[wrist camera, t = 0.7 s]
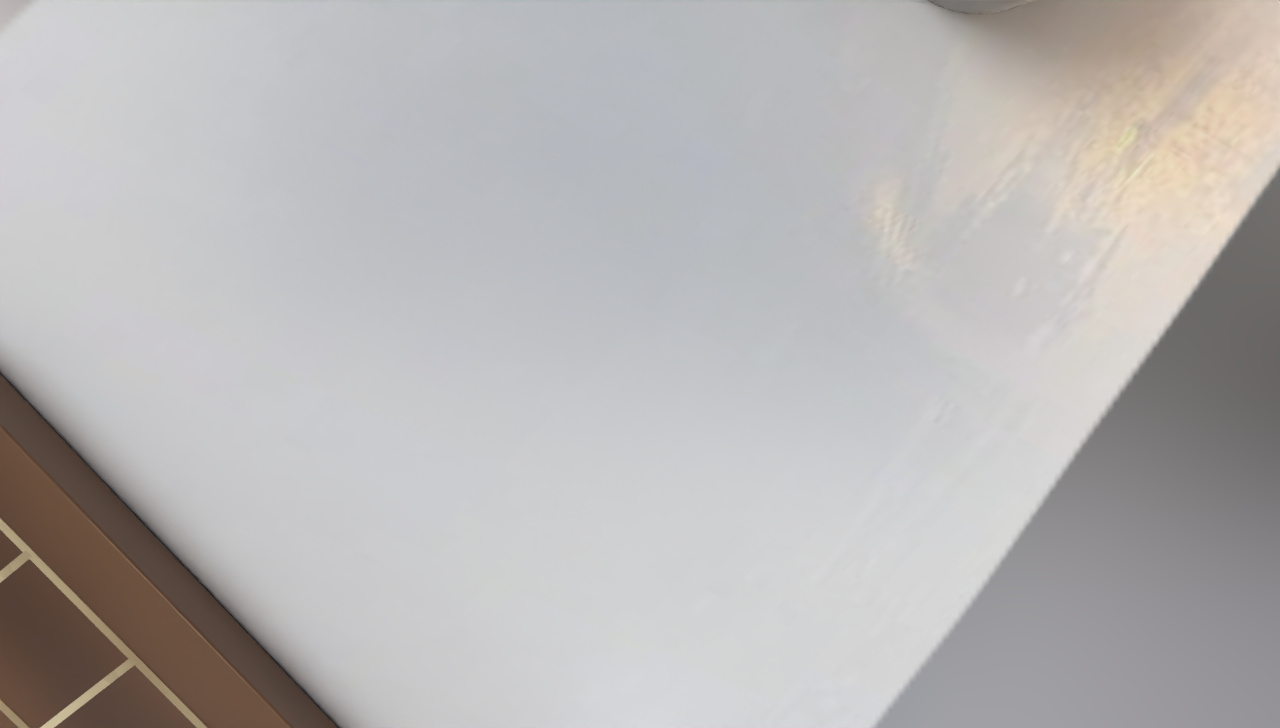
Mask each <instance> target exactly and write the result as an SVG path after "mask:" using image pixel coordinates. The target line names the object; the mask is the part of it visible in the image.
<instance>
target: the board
mask: <svg viewBox="0 0 1280 728" xmlns="http://www.w3.org/2000/svg"><path fill="white" fill-rule="evenodd" d="M0 728H338V727H337V726H336V725H335V724H334V723H333V722H332V721H331V720H330V719H329V718H328V717H327V716H326V715H325V714H324V713H323V712H322V711H321V710H320V708H319V707H318V706H317V705H316V704H315V703H314V702H313V701H312V700H311V699H310V698H309V697H308V696H307V695H306V694H305V693H304V692H303V691H302V690H301V689H300V688H299V686H298V685H297V684H296V683H295V682H294V681H293V680H292V679H291V678H290V677H289V676H288V675H287V674H286V673H285V672H284V671H283V670H282V669H281V668H280V667H279V666H278V664H277V663H276V662H275V661H274V660H273V659H272V658H271V657H270V656H269V655H268V654H267V653H266V652H265V651H264V650H263V649H262V648H261V647H260V646H259V645H258V643H257V642H256V641H255V640H254V639H253V638H252V637H251V636H250V635H249V634H248V633H247V632H246V631H245V630H244V629H243V628H242V627H241V626H240V625H239V624H238V623H237V621H236V620H235V619H234V618H233V617H232V616H231V615H230V614H229V613H228V612H227V611H226V610H225V609H224V608H223V607H222V606H221V605H220V604H219V603H218V602H217V601H216V599H215V598H214V597H213V596H212V595H211V594H210V593H209V592H208V591H207V590H206V589H205V588H204V587H203V586H202V585H201V584H200V583H199V582H198V581H197V580H196V579H195V577H194V576H193V575H192V574H191V573H190V572H189V571H188V570H187V569H186V568H185V567H184V566H183V565H182V564H181V563H180V562H179V561H178V560H177V559H176V558H175V557H174V555H173V554H172V553H171V552H170V551H169V550H168V549H167V548H166V547H165V546H164V545H163V544H162V543H161V542H160V541H159V540H158V539H157V538H156V537H155V536H154V535H153V533H152V532H151V531H150V530H149V529H148V528H147V527H146V526H145V525H144V524H143V523H142V522H141V521H140V520H139V519H138V518H137V517H136V516H135V515H134V514H133V513H132V511H131V510H130V509H129V508H128V507H127V506H126V505H125V504H124V503H123V502H122V501H121V500H120V499H119V498H118V497H117V496H116V495H115V494H114V493H113V492H112V491H111V489H110V488H109V487H108V486H107V485H106V484H105V483H104V482H103V481H102V480H101V479H100V478H99V477H98V476H97V475H96V474H95V473H94V472H93V471H92V470H91V469H90V467H89V466H88V465H87V464H86V463H85V462H84V461H83V460H82V459H81V458H80V457H79V456H78V455H77V454H76V453H75V452H74V451H73V450H72V449H71V448H70V446H69V445H68V444H67V443H66V442H65V441H64V440H63V439H62V438H61V437H60V436H59V435H58V434H57V433H56V432H55V431H54V430H53V429H52V428H51V427H50V426H49V424H48V423H47V422H46V421H45V420H44V419H43V418H42V417H41V416H40V415H39V414H38V413H37V412H36V411H35V410H34V409H33V408H32V407H31V406H30V405H29V404H28V402H27V401H26V400H25V399H24V398H23V397H22V396H21V395H20V394H19V393H18V392H17V391H16V390H15V389H14V388H13V387H12V386H11V385H10V384H9V383H8V382H7V380H6V379H5V378H4V377H3V376H2V375H1V374H0Z"/></svg>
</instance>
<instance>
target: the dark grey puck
mask: <svg viewBox="0 0 1280 728" xmlns="http://www.w3.org/2000/svg"><path fill="white" fill-rule="evenodd" d="M929 1H930V2H932V3H934V4H936V5H938V6H940V7H943V8H946V9H949V10H952V11H956V12H962V13H968V14H987V13H996V12H1000V11H1005V10H1009V9H1011V8H1014V7H1017V6H1020V5H1022V4H1025V3H1028V2H1031V1H1034V0H929Z"/></svg>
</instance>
